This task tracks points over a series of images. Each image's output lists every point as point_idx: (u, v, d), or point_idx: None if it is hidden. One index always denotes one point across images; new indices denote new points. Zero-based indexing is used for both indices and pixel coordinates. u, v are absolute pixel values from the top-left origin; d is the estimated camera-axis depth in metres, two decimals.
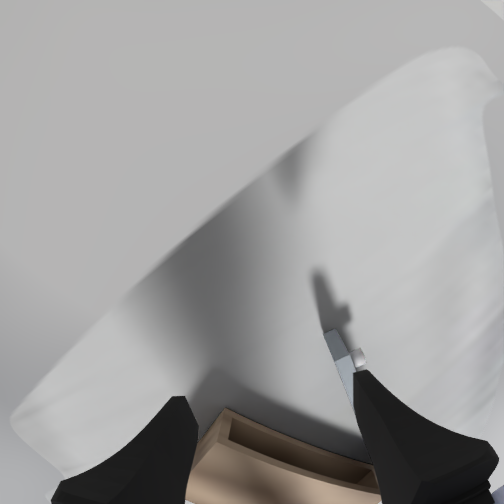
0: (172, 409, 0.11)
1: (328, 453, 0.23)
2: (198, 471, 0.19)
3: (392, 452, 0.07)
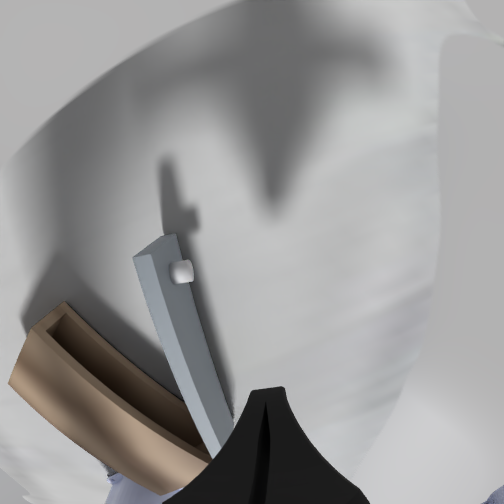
0: (260, 403, 0.10)
1: (166, 393, 0.22)
2: (22, 361, 0.17)
3: None
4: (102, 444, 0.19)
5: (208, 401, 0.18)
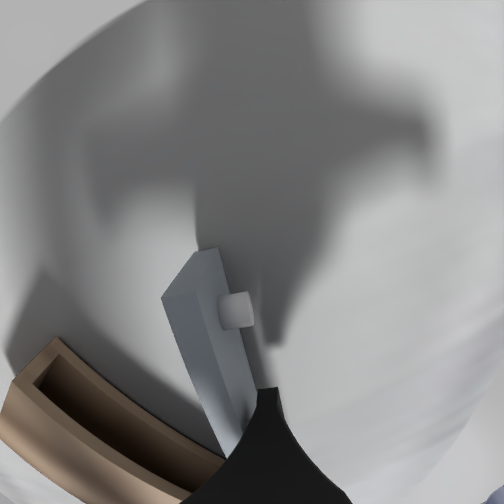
0: (271, 401, 0.10)
1: (198, 449, 0.16)
2: (7, 415, 0.11)
3: None
4: None
5: None
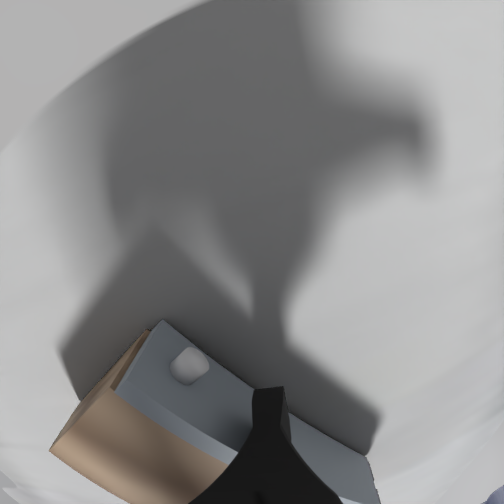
0: (278, 401, 0.10)
1: None
2: (81, 430, 0.10)
3: None
4: None
5: (318, 473, 0.12)
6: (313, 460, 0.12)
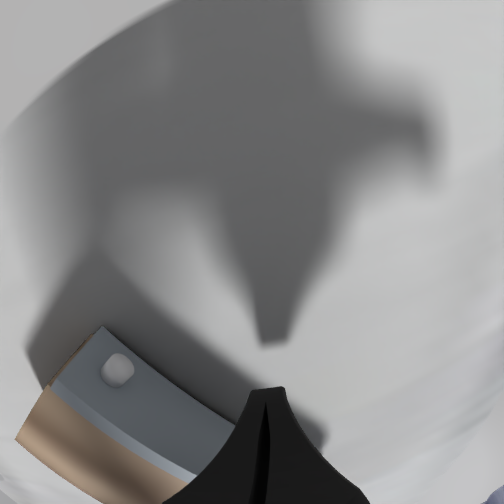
0: (260, 403, 0.10)
1: None
2: (34, 421, 0.11)
3: None
4: None
5: None
6: None
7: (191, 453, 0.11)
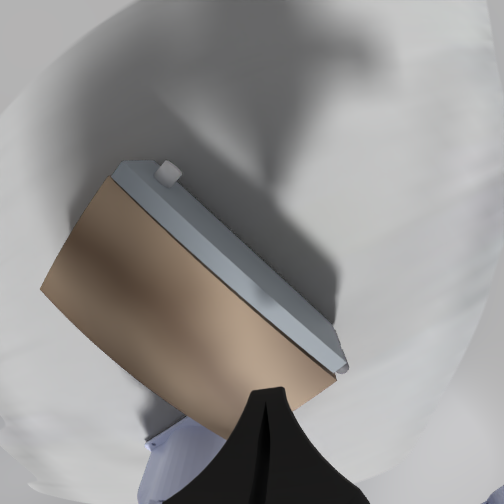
0: (260, 403, 0.10)
1: None
2: (75, 239, 0.15)
3: None
4: (173, 364, 0.17)
5: (273, 290, 0.16)
6: (269, 282, 0.17)
7: (224, 246, 0.16)
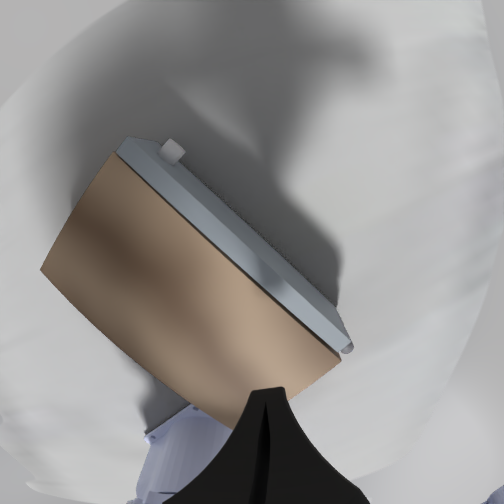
0: (260, 403, 0.10)
1: None
2: (77, 216, 0.15)
3: None
4: (174, 344, 0.17)
5: (276, 266, 0.16)
6: (272, 258, 0.17)
7: (226, 220, 0.16)
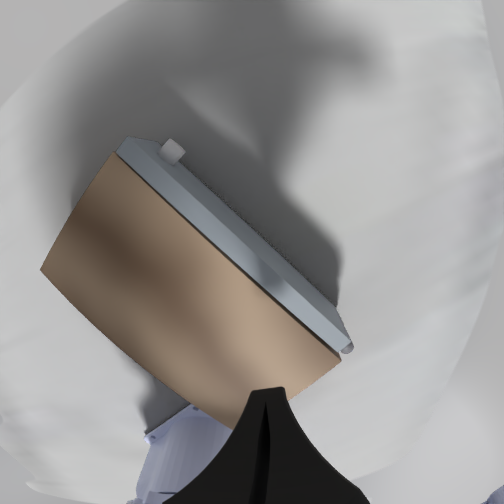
0: (260, 403, 0.10)
1: None
2: (77, 216, 0.15)
3: None
4: (174, 344, 0.17)
5: (276, 266, 0.16)
6: (272, 258, 0.17)
7: (226, 220, 0.16)
